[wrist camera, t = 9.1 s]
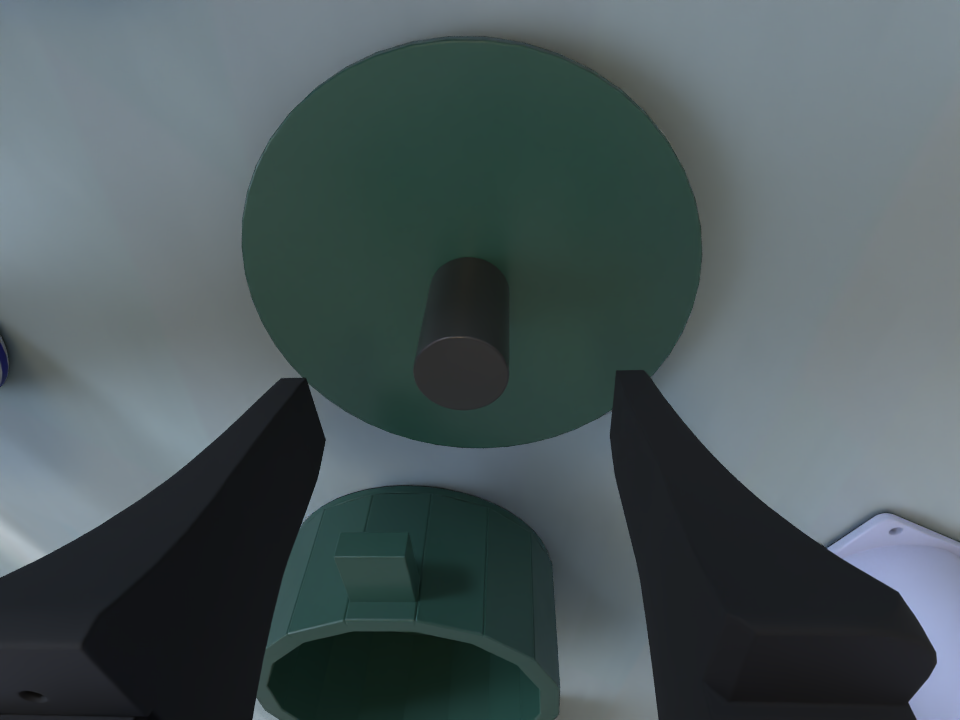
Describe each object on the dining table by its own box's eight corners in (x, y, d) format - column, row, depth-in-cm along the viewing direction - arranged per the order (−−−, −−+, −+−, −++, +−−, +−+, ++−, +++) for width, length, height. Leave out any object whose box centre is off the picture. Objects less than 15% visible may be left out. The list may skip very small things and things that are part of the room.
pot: (553, 437, 23) (564, 576, 18) (550, 659, 34) (556, 781, 29) (240, 443, 24) (173, 576, 19) (335, 657, 35) (308, 776, 30)
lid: (733, 11, 14) (823, 56, 10) (663, 424, 22) (697, 539, 18) (185, 49, 15) (67, 103, 11) (312, 431, 23) (272, 542, 19)
